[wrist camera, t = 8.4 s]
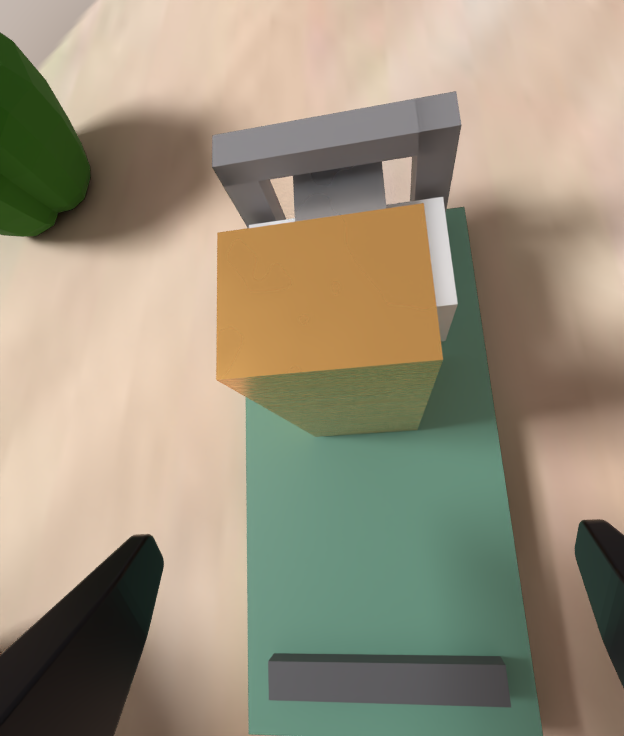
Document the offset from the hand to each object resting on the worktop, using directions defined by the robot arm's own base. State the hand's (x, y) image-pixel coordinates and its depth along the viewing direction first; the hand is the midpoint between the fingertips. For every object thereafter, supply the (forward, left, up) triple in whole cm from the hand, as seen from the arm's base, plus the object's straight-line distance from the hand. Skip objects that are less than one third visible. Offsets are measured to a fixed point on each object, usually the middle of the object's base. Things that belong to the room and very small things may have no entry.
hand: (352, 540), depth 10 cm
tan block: (+7, -4, -8) cm, 11 cm away
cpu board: (+2, -1, -9) cm, 10 cm away
